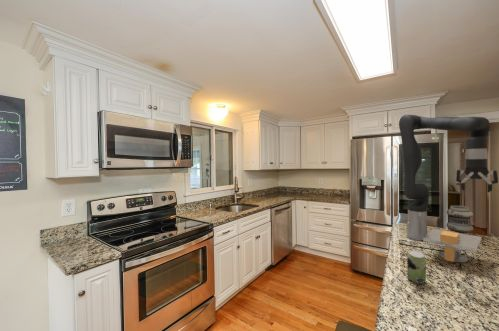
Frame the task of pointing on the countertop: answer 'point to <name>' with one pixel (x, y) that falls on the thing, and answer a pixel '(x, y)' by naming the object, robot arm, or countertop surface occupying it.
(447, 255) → the orange block
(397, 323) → the countertop surface
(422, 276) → the beverage can
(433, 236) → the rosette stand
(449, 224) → the apothecary jar
